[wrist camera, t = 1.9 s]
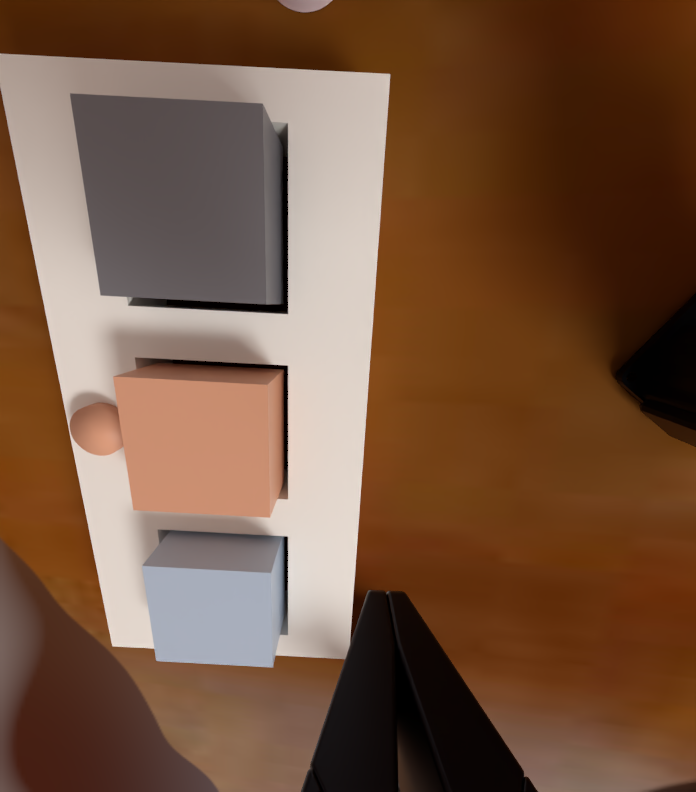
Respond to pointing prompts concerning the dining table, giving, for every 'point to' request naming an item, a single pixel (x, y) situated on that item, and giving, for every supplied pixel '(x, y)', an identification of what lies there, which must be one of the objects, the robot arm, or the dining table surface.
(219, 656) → the blue key
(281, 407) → the terracotta key
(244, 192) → the charcoal key
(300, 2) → the smoothie
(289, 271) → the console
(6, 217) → the dining table surface
